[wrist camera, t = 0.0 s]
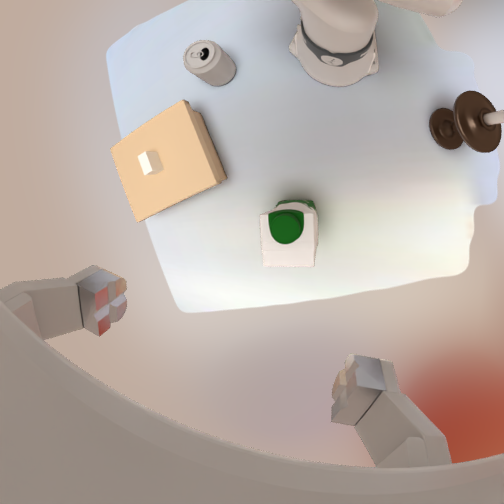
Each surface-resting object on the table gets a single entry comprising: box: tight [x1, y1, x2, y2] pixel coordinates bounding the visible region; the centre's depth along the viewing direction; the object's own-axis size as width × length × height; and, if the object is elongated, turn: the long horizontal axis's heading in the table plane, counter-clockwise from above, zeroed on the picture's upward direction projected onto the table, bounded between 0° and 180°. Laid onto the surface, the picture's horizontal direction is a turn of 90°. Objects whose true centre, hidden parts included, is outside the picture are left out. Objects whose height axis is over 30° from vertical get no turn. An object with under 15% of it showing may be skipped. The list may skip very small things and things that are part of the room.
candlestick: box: [429, 91, 504, 153], centre depth 25 cm, size 11×11×35 cm
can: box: [183, 40, 236, 86], centre depth 43 cm, size 8×8×12 cm
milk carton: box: [260, 200, 318, 267], centre depth 46 cm, size 9×9×20 cm
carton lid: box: [110, 100, 221, 222], centre depth 47 cm, size 18×20×6 cm
